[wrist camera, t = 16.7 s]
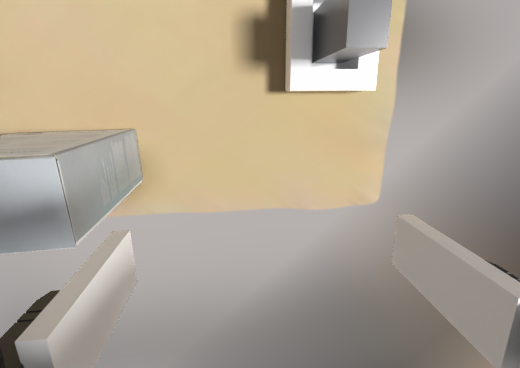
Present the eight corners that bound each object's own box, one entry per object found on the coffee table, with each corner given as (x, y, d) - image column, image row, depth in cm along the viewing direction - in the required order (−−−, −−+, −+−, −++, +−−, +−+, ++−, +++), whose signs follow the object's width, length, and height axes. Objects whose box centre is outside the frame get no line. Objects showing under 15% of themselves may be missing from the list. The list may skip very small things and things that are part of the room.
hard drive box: (28, 189, 41) (-151, 268, 21) (13, 132, 38) (-200, 164, 19) (145, 182, 42) (74, 250, 23) (137, 126, 40) (51, 151, 21)
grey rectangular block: (312, 63, 39) (346, 47, 28) (314, 11, 38) (351, -28, 26) (341, 63, 40) (387, 47, 28) (344, 12, 38) (394, -26, 26)
